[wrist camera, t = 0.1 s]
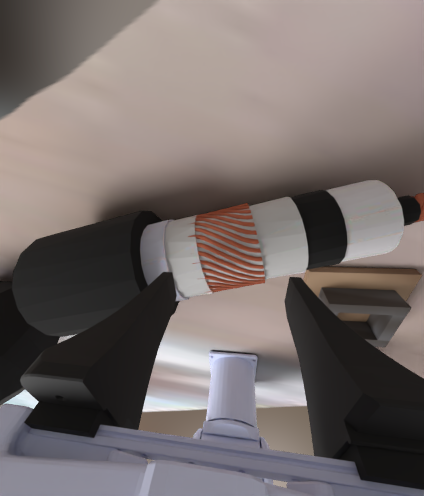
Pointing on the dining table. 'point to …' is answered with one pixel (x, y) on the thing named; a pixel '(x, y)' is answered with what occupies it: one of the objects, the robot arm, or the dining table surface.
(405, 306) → the holder
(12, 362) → the bottle
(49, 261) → the cable
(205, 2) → the dining table surface
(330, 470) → the robot arm
